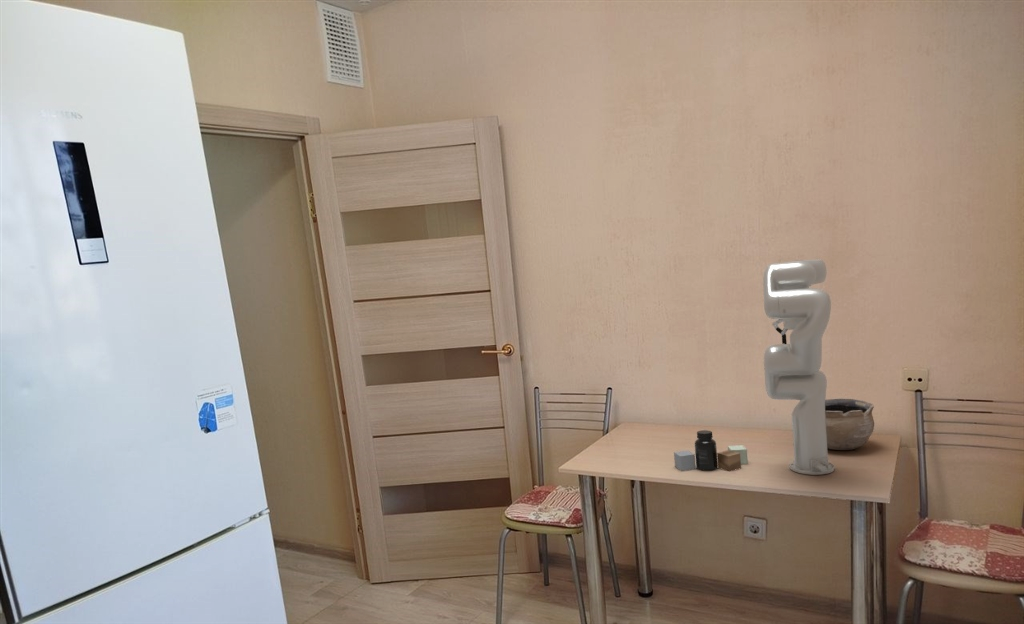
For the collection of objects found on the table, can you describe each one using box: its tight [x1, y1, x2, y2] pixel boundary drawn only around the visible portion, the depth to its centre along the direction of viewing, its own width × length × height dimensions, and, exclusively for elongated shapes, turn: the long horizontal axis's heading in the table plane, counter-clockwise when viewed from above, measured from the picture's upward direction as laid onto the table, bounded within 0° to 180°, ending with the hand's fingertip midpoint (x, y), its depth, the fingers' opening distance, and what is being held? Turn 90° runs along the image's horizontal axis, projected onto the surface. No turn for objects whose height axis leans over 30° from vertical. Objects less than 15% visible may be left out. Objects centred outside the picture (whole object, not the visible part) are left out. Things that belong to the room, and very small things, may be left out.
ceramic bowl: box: [825, 398, 875, 451], centre depth 219 cm, size 22×22×15 cm
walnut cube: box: [717, 449, 742, 472], centre depth 208 cm, size 5×5×5 cm
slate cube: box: [673, 450, 697, 472], centre depth 212 cm, size 5×5×5 cm
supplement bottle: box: [694, 429, 718, 472], centre depth 209 cm, size 7×7×12 cm
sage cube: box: [727, 444, 749, 465], centre depth 213 cm, size 5×5×5 cm
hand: (800, 345), depth 225 cm, fingers open, 9 cm apart
